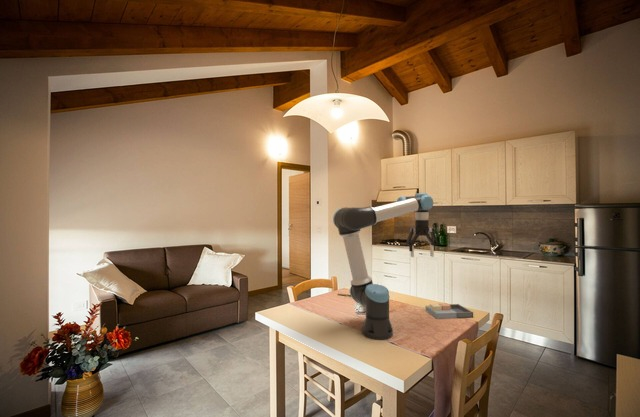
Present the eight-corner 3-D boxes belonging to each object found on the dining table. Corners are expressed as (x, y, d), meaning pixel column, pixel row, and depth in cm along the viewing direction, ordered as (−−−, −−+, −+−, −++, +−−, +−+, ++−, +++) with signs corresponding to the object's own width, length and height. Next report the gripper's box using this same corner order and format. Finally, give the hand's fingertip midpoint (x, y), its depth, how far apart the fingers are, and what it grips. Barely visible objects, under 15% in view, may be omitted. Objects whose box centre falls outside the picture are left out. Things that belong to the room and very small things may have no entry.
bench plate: (456, 317, 172) (456, 312, 172) (436, 318, 171) (436, 313, 171) (444, 309, 186) (444, 304, 186) (425, 310, 185) (425, 305, 185)
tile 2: (450, 310, 176) (450, 305, 176) (442, 310, 176) (442, 306, 176) (446, 307, 181) (446, 303, 181) (438, 307, 181) (438, 303, 181)
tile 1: (441, 310, 176) (441, 306, 176) (433, 310, 175) (433, 306, 175) (437, 307, 181) (437, 303, 181) (429, 308, 180) (429, 303, 180)
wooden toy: (369, 296, 216) (369, 277, 216) (365, 300, 206) (365, 280, 206) (340, 293, 225) (340, 274, 225) (335, 296, 216) (335, 277, 216)
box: (473, 317, 172) (473, 312, 172) (457, 318, 171) (457, 312, 171) (458, 308, 187) (458, 304, 187) (443, 309, 186) (443, 304, 186)
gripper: (437, 219, 182) (438, 255, 182) (400, 219, 180) (400, 256, 180) (444, 219, 175) (444, 257, 175) (404, 220, 172) (405, 258, 172)
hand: (422, 256), depth 177 cm, fingers open, 11 cm apart
